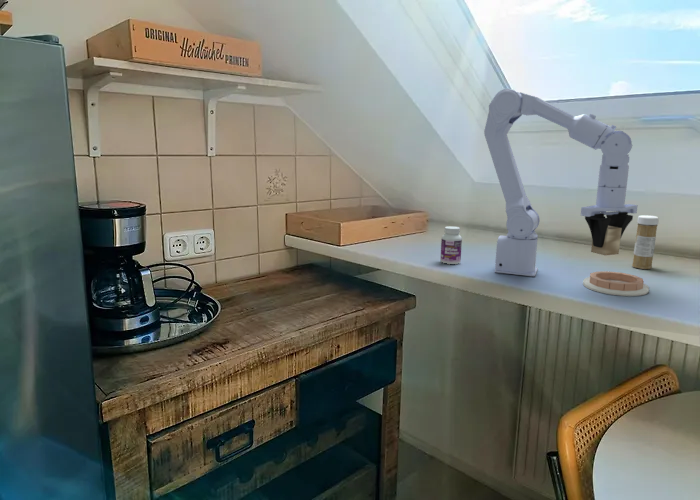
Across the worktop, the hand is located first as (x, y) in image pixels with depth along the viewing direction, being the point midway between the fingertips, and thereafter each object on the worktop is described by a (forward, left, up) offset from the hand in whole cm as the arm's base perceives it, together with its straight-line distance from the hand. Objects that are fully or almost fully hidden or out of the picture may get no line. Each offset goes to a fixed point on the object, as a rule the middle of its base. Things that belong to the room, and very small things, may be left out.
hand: (605, 246), depth 112 cm
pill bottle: (-36, +3, -9) cm, 38 cm away
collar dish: (+3, -4, -9) cm, 10 cm away
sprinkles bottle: (+10, +19, -9) cm, 23 cm away
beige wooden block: (0, 0, -2) cm, 2 cm away
